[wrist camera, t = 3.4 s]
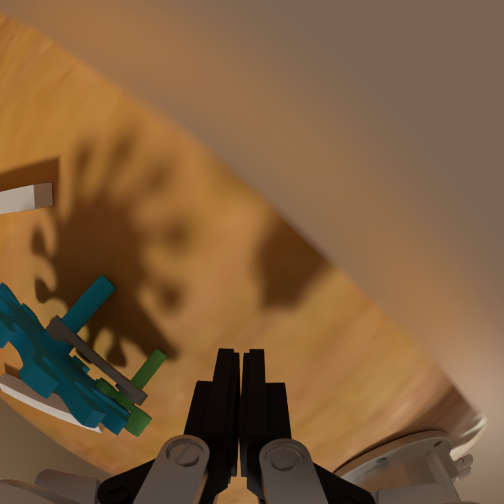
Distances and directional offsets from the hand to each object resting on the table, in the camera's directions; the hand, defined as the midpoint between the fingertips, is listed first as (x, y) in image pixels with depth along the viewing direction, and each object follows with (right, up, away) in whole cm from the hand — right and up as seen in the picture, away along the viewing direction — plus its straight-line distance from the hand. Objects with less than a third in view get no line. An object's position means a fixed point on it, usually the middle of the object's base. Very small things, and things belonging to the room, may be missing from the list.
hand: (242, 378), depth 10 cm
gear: (-9, +1, +4) cm, 10 cm away
